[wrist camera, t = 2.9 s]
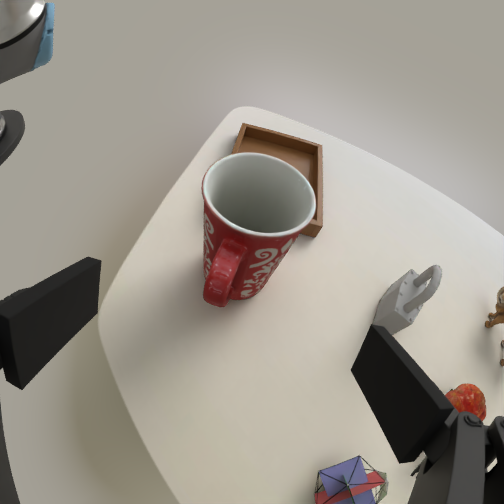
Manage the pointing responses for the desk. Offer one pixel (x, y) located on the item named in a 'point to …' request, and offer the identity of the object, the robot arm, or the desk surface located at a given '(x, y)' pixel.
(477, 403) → the pomegranate
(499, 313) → the lion figurine
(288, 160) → the tray
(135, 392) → the desk surface
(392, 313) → the padlock
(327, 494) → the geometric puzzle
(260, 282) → the mug
